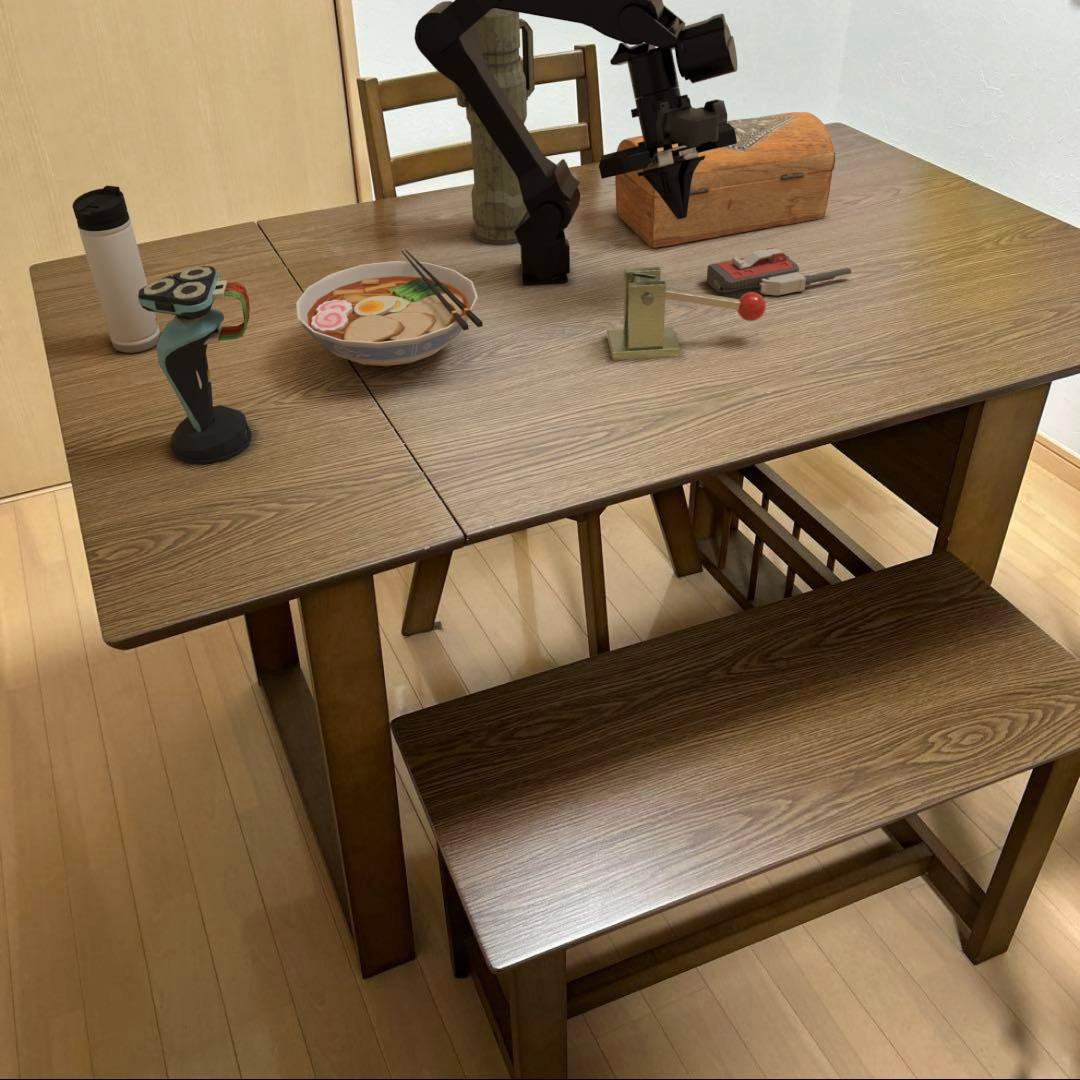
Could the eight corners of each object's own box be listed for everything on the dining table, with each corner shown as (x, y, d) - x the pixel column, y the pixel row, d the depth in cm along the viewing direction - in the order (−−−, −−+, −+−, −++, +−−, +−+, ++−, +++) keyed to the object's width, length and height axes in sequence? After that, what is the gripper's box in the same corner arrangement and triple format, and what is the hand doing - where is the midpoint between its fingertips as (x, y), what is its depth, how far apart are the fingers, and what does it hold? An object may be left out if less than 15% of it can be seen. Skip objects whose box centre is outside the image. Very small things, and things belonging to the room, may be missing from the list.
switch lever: (757, 314, 145) (765, 289, 143) (763, 327, 142) (772, 302, 140) (628, 295, 142) (635, 268, 140) (632, 307, 139) (639, 281, 137)
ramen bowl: (283, 329, 151) (273, 272, 146) (444, 295, 158) (439, 239, 153) (332, 418, 133) (322, 357, 128) (511, 375, 140) (508, 315, 135)
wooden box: (778, 183, 187) (787, 97, 179) (829, 219, 175) (841, 129, 166) (610, 211, 180) (610, 123, 171) (651, 250, 168) (654, 158, 159)
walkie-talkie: (726, 309, 152) (853, 283, 157) (728, 279, 149) (858, 253, 155) (696, 283, 159) (819, 259, 164) (698, 254, 156) (823, 229, 161)
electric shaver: (178, 423, 133) (136, 265, 121) (278, 416, 134) (247, 258, 121) (164, 467, 126) (118, 303, 114) (270, 459, 127) (236, 296, 114)
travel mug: (172, 333, 151) (135, 187, 139) (143, 356, 146) (102, 207, 134) (133, 327, 153) (92, 182, 141) (103, 350, 148) (58, 202, 136)
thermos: (551, 232, 174) (545, -15, 152) (486, 252, 169) (470, -1, 147) (519, 214, 180) (509, -26, 158) (455, 233, 175) (436, -13, 153)
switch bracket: (671, 334, 147) (675, 264, 141) (679, 356, 142) (683, 285, 136) (606, 338, 147) (607, 268, 141) (612, 360, 142) (613, 289, 136)
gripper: (636, 94, 131) (664, 229, 136) (754, 67, 140) (777, 195, 144) (584, 112, 141) (611, 237, 145) (697, 85, 149) (720, 205, 154)
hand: (682, 218), depth 147 cm, fingers closed
